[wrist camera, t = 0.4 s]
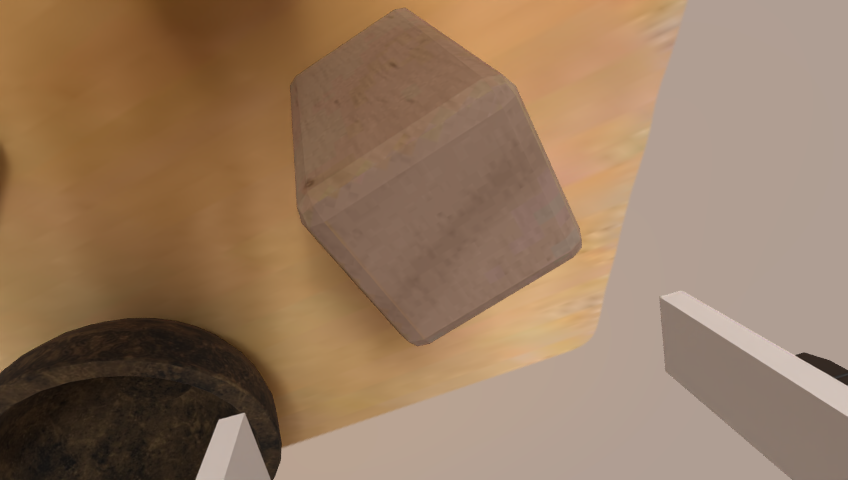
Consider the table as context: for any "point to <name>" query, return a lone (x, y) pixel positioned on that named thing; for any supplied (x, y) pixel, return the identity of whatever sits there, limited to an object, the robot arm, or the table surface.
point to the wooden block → (425, 177)
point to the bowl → (128, 403)
